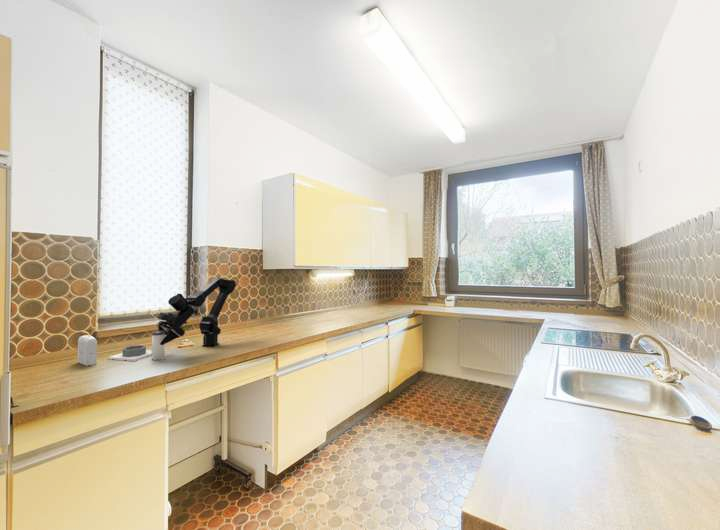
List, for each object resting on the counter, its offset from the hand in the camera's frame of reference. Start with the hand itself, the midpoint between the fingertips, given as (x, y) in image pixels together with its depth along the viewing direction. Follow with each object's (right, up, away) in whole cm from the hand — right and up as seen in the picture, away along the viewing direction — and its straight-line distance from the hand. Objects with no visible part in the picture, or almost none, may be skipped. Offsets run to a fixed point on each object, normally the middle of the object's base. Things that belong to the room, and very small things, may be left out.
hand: (156, 342), depth 148 cm
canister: (0, -7, +1) cm, 7 cm away
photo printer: (-26, -7, -8) cm, 28 cm away
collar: (-13, -7, +4) cm, 16 cm away
